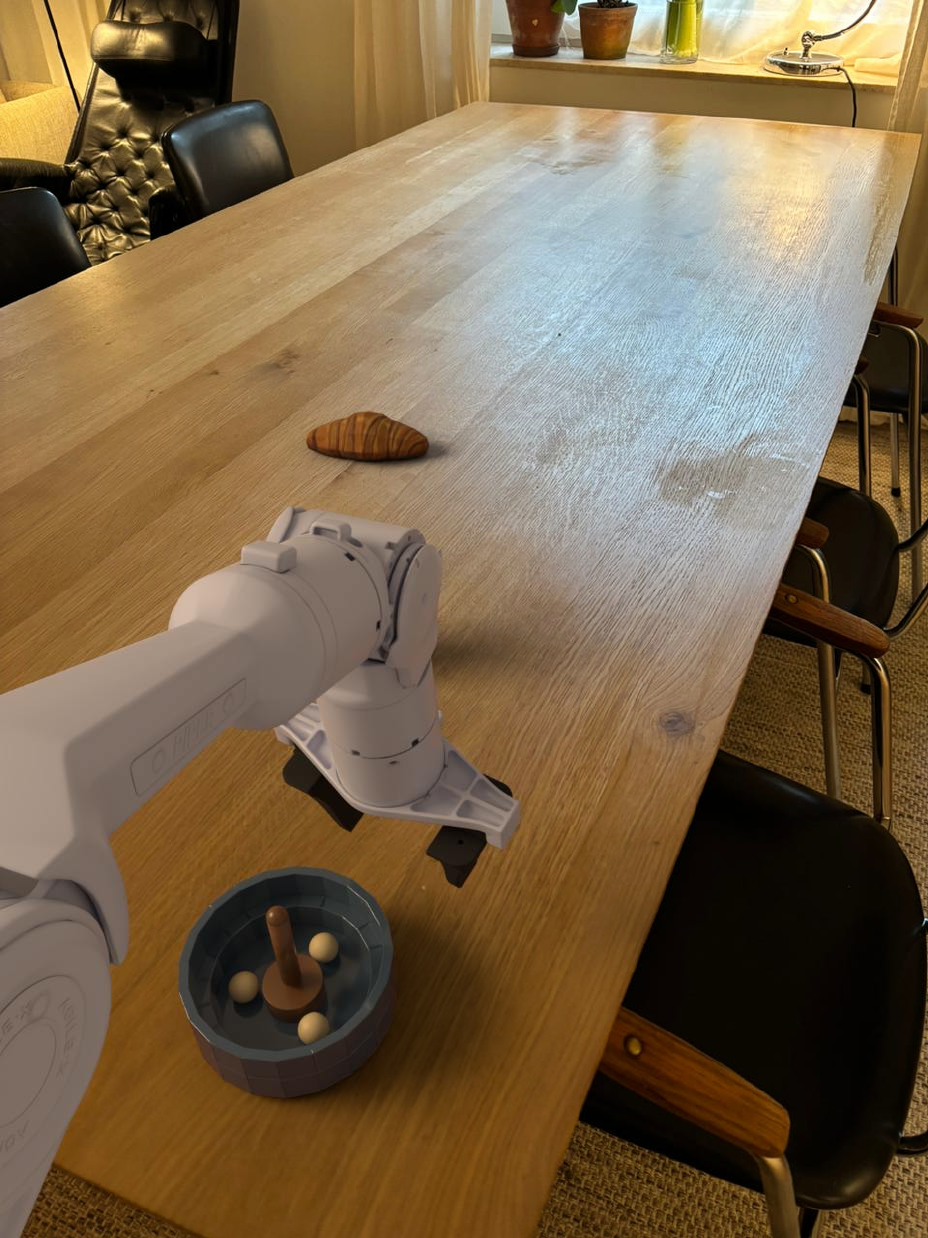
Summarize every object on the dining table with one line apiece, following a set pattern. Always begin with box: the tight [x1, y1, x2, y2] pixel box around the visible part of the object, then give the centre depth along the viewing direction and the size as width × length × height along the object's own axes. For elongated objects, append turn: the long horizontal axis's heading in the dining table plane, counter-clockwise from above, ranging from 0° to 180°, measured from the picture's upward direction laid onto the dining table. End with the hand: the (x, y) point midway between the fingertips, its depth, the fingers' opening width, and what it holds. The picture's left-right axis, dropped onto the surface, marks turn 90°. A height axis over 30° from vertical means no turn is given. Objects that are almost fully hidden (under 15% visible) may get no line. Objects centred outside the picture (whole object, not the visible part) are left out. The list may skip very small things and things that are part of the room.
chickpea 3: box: [298, 1012, 329, 1045], centre depth 57 cm, size 2×2×2 cm
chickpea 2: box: [309, 933, 338, 963], centre depth 61 cm, size 2×2×2 cm
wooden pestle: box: [262, 905, 326, 1023], centre depth 57 cm, size 4×4×9 cm
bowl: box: [177, 865, 399, 1099], centre depth 59 cm, size 12×12×5 cm
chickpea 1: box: [229, 971, 259, 1003], centre depth 59 cm, size 2×2×2 cm
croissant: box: [305, 410, 430, 462], centre depth 106 cm, size 14×7×5 cm, turn 84°
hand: (408, 844), depth 59 cm, fingers open, 7 cm apart
